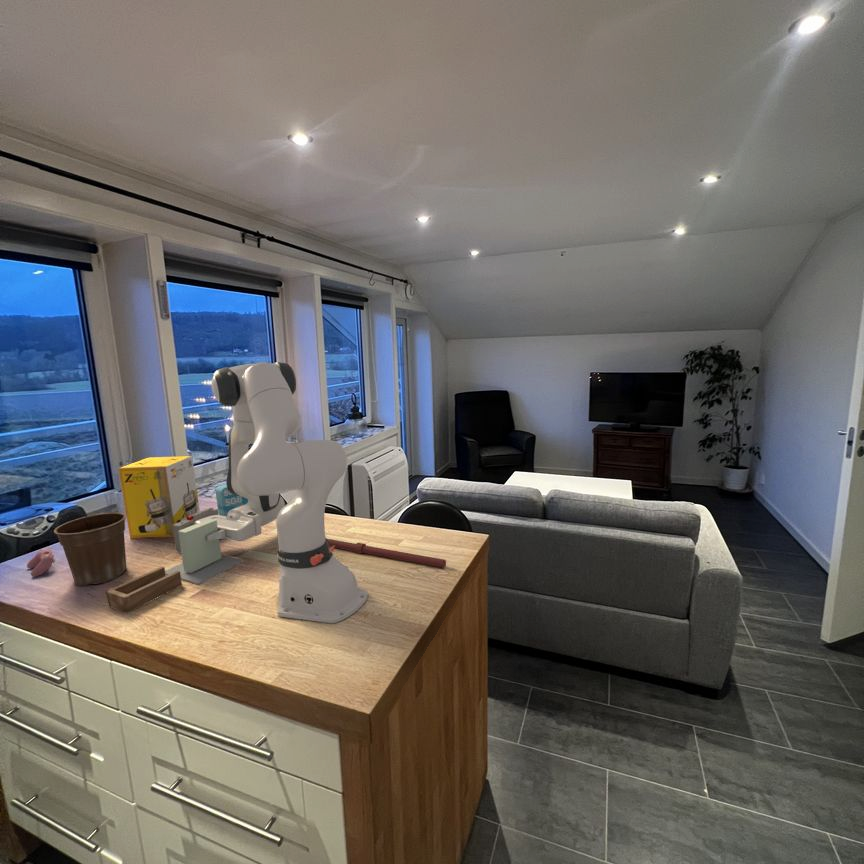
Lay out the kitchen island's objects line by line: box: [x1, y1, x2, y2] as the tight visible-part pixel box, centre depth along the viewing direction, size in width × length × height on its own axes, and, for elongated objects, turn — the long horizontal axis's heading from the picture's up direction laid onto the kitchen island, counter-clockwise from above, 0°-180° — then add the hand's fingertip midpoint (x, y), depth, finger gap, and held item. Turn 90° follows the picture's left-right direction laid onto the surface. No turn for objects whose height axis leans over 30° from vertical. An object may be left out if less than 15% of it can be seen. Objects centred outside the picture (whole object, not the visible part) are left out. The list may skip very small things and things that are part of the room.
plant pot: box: [53, 512, 128, 587], centre depth 127 cm, size 16×16×16 cm
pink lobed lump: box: [26, 548, 56, 578], centre depth 134 cm, size 10×5×7 cm, turn 48°
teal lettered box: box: [215, 484, 248, 517], centre depth 176 cm, size 12×4×12 cm, turn 144°
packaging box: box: [118, 455, 201, 539], centre depth 161 cm, size 16×16×25 cm
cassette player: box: [172, 506, 219, 553], centre depth 149 cm, size 16×3×10 cm, turn 160°
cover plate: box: [178, 519, 222, 573], centre depth 130 cm, size 3×10×12 cm, turn 154°
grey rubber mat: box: [165, 554, 245, 585], centre depth 131 cm, size 16×15×1 cm
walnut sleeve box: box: [105, 566, 183, 614], centre depth 116 cm, size 8×14×4 cm, turn 154°
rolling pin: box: [325, 537, 447, 569], centre depth 134 cm, size 45×3×3 cm, turn 64°
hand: (201, 537), depth 130 cm, fingers closed on cover plate, 3 cm apart
